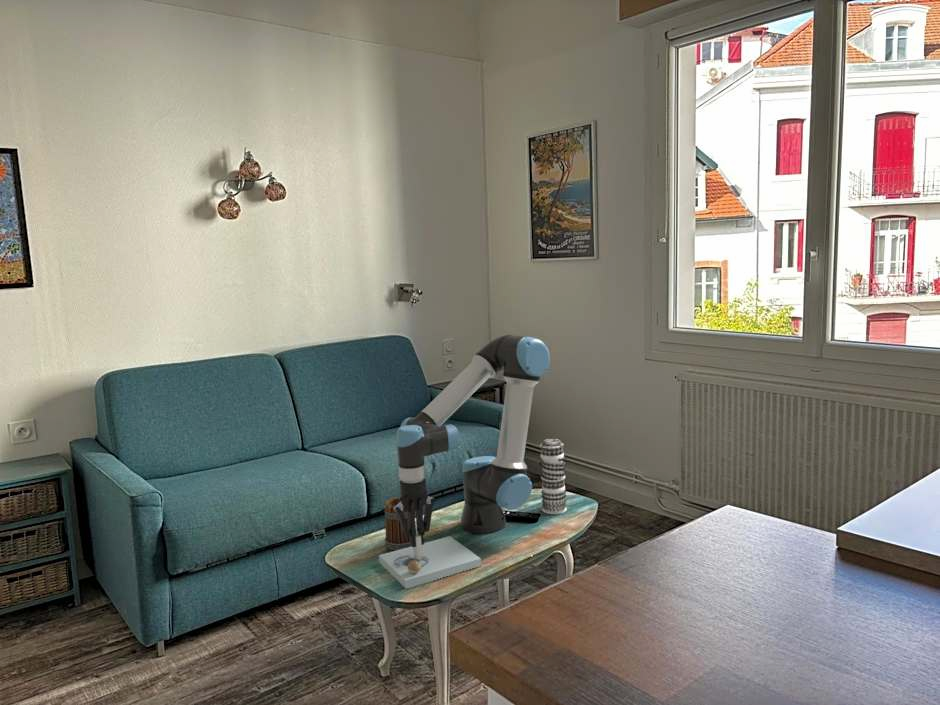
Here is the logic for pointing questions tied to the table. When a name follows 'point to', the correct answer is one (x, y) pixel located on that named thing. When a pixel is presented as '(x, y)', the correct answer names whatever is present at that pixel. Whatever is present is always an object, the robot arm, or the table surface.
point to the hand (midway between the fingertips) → (418, 555)
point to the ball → (408, 561)
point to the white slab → (430, 561)
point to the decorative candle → (553, 476)
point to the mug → (395, 527)
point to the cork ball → (414, 566)
